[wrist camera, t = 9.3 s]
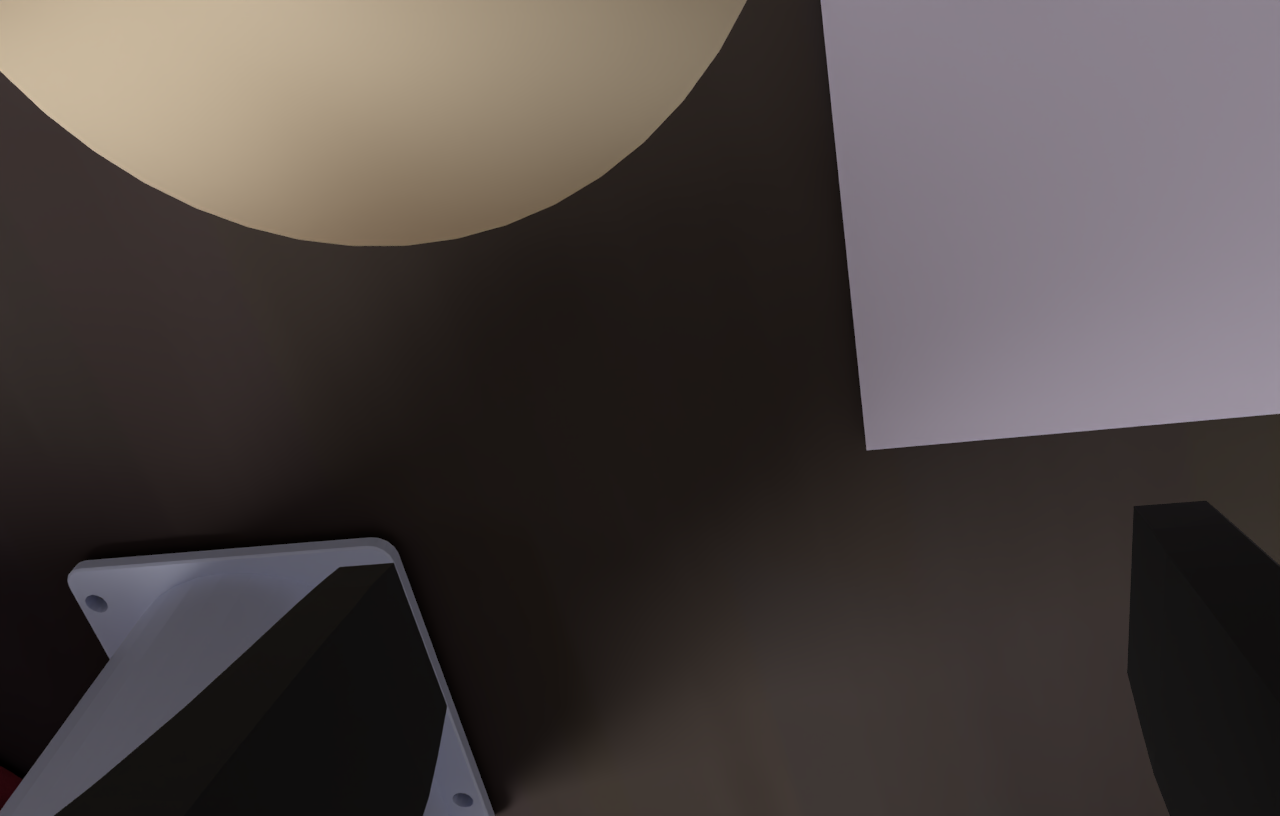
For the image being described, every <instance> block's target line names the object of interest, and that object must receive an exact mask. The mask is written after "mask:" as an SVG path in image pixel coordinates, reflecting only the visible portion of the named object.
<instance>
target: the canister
mask: <svg viewBox="0 0 1280 816" xmlns="http://www.w3.org/2000/svg"><path fill="white" fill-rule="evenodd" d="M22 780H23V779H22V778H20V777H19V776H17V775H16V774H14V773H12V772H11V771H9V770H7V769H6V768H4V767H2V766H0V810H1V809H2V808H3V806H4V805H5V804H6V802H7V801H8V799H9V798H10V797H11V795H12V794H13V793H14V791H15V790H16V788H17V787H18V786H19V784H20V783H21V781H22Z"/></svg>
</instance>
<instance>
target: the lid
mask: <svg viewBox="0 0 1280 816" xmlns="http://www.w3.org/2000/svg"><path fill="white" fill-rule="evenodd" d="M746 1H747V0H0V71H1V72H2V73H3V74H4V75H5V76H6V77H7V78H8V79H9V80H10V81H11V82H12V83H14V84H15V85H16V86H17V87H18V88H19V89H20V90H21V91H22V92H23V93H24V94H25V95H26V96H27V97H28V98H29V99H31V100H32V101H33V102H34V103H35V104H36V105H37V106H38V107H39V108H40V109H41V110H42V111H43V112H44V113H45V114H47V115H48V116H49V117H51V118H52V119H53V120H54V121H56V122H57V123H58V124H60V125H61V126H62V127H63V128H65V129H66V130H67V131H69V132H70V133H71V134H73V135H74V136H75V137H76V138H78V139H79V140H80V141H82V142H83V143H84V144H85V145H87V146H88V147H89V148H91V149H92V150H93V151H95V152H96V153H98V154H99V155H101V156H103V157H104V158H106V159H107V160H109V161H110V162H112V163H114V164H115V165H117V166H118V167H120V168H122V169H123V170H125V171H126V172H128V173H130V174H131V175H133V176H134V177H136V178H138V179H139V180H141V181H142V182H144V183H146V184H148V185H150V186H152V187H154V188H156V189H158V190H160V191H162V192H164V193H166V194H168V195H170V196H172V197H174V198H176V199H178V200H180V201H182V202H184V203H186V204H188V205H191V206H193V207H195V208H197V209H200V210H202V211H205V212H208V213H211V214H213V215H216V216H219V217H222V218H224V219H227V220H230V221H233V222H235V223H238V224H241V225H243V226H246V227H250V228H254V229H258V230H262V231H266V232H270V233H274V234H279V235H283V236H287V237H291V238H295V239H299V240H306V241H315V242H323V243H331V244H340V245H348V246H407V245H415V244H422V243H429V242H437V241H444V240H452V239H458V238H461V237H465V236H469V235H472V234H476V233H480V232H483V231H487V230H491V229H494V228H498V227H502V226H505V225H508V224H510V223H513V222H515V221H517V220H520V219H522V218H524V217H527V216H529V215H532V214H534V213H536V212H539V211H541V210H543V209H546V208H548V207H550V206H553V205H555V204H557V203H558V202H560V201H562V200H563V199H565V198H567V197H568V196H570V195H572V194H573V193H575V192H577V191H578V190H580V189H582V188H583V187H585V186H587V185H588V184H590V183H592V182H593V181H595V180H597V179H598V178H600V177H601V176H603V175H604V174H605V173H606V172H608V171H609V170H610V169H611V168H613V167H614V166H615V165H616V164H618V163H619V162H620V161H621V160H623V159H624V158H625V157H626V156H628V155H629V154H630V153H631V152H633V151H634V150H635V149H636V148H638V147H639V146H640V145H641V144H643V143H644V142H645V141H646V140H647V139H648V138H649V137H650V135H651V134H652V133H653V132H654V131H655V130H656V129H657V128H658V127H659V126H660V125H661V124H662V123H663V122H664V121H665V120H666V119H667V118H668V116H669V115H670V114H671V113H672V112H673V111H674V110H675V109H676V108H677V107H678V106H679V105H680V104H681V103H682V102H683V101H684V99H685V98H686V97H687V95H688V94H689V93H690V91H691V90H692V88H693V87H694V86H695V84H696V83H697V81H698V80H699V79H700V77H701V76H702V75H703V73H704V72H705V70H706V69H707V68H708V66H709V65H710V63H711V62H712V61H713V59H714V58H715V57H716V55H717V54H718V52H719V51H720V49H721V47H722V46H723V44H724V42H725V40H726V38H727V36H728V35H729V33H730V31H731V29H732V27H733V25H734V23H735V22H736V20H737V18H738V16H739V14H740V12H741V11H742V9H743V7H744V5H745V3H746Z"/></svg>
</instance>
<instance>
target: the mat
mask: <svg viewBox="0 0 1280 816" xmlns="http://www.w3.org/2000/svg"><path fill="white" fill-rule="evenodd" d="M821 10H822V19H823V29H824V39H825V49H826V58H827V68H828V78H829V88H830V97H831V107H832V117H833V127H834V137H835V146H836V156H837V166H838V176H839V185H840V195H841V205H842V215H843V224H844V234H845V244H846V254H847V264H848V273H849V283H850V293H851V303H852V312H853V322H854V332H855V342H856V351H857V361H858V371H859V381H860V391H861V400H862V410H863V420H864V430H865V439H866V449H867V450H877V449H888V448H900V447H911V446H922V445H933V444H944V443H956V442H967V441H978V440H989V439H1000V438H1012V437H1023V436H1034V435H1045V434H1056V433H1068V432H1079V431H1090V430H1101V429H1113V428H1124V427H1135V426H1146V425H1157V424H1169V423H1180V422H1191V421H1202V420H1213V419H1225V418H1236V417H1247V416H1258V415H1269V414H1280V0H821Z"/></svg>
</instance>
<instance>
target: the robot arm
mask: <svg viewBox="0 0 1280 816" xmlns="http://www.w3.org/2000/svg"><path fill="white" fill-rule="evenodd" d="M67 582H68V585H69V588H70V589H71V591H72V593H73V595H74V596H75V598H76V600H77V602H78V604H79V605H80V607H81V609H82V611H83V612H84V614H85V616H86V618H87V620H88V621H89V623H90V625H91V627H92V628H93V630H94V632H95V634H96V636H97V637H98V639H99V641H100V643H101V645H102V646H103V648H104V650H105V652H106V653H107V655H108V657H109V659H110V660H109V661H108V663H107V664H106V665H105V667H104V668H103V670H102V671H101V672H100V674H99V675H98V677H97V678H96V679H95V681H94V682H93V683H92V685H91V686H90V688H89V689H88V690H87V692H86V693H85V694H84V696H83V697H82V699H81V700H80V701H79V703H78V704H77V706H76V707H75V708H74V710H73V711H72V712H71V714H70V715H69V717H68V718H67V719H66V721H65V722H64V723H63V725H62V726H61V728H60V729H59V730H58V732H57V733H56V735H55V736H54V737H53V739H52V740H51V741H50V743H49V744H48V746H47V747H46V748H45V750H44V751H43V752H42V754H41V755H40V757H39V758H38V759H37V761H36V762H35V764H34V765H33V766H32V768H31V769H30V770H29V772H28V773H27V775H26V776H25V777H24V779H23V780H22V781H21V783H20V784H19V786H18V787H17V788H16V790H15V791H14V793H13V794H12V795H11V797H10V798H9V799H8V801H7V802H6V804H5V805H4V806H3V808H2V809H1V810H0V816H495V814H494V811H493V809H492V806H491V803H490V800H489V798H488V795H487V792H486V790H485V787H484V784H483V781H482V779H481V776H480V773H479V771H478V768H477V765H476V762H475V760H474V757H473V754H472V752H471V749H470V746H469V743H468V741H467V738H466V735H465V732H464V730H463V727H462V724H461V722H460V719H459V716H458V713H457V711H456V708H455V705H454V703H453V700H452V697H451V694H450V692H449V689H448V686H447V684H446V681H445V678H444V675H443V673H442V670H441V667H440V665H439V662H438V659H437V656H436V654H435V651H434V648H433V646H432V643H431V640H430V637H429V635H428V632H427V629H426V627H425V624H424V621H423V618H422V616H421V613H420V610H419V608H418V605H417V602H416V599H415V597H414V594H413V591H412V589H411V586H410V583H409V580H408V578H407V575H406V572H405V570H404V567H403V564H402V561H401V559H400V556H399V553H398V552H397V550H396V549H395V547H394V546H393V545H392V544H390V543H389V542H388V541H386V540H383V539H381V538H374V537H367V538H355V539H342V540H330V541H318V542H305V543H293V544H281V545H268V546H256V547H244V548H232V549H219V550H207V551H195V552H182V553H170V554H158V555H146V556H133V557H121V558H109V559H96V560H86V561H82V562H79V563H78V564H77V565H76V566H75V567H74V569H73V570H72V571H71V572H70V573H69V574H68V579H67ZM98 596H99V597H101V598H103V599H104V600H103V599H101V598H99V597H98ZM1127 673H1128V677H1129V681H1130V685H1131V689H1132V693H1133V697H1134V701H1135V705H1136V709H1137V712H1138V716H1139V720H1140V724H1141V728H1142V732H1143V736H1144V739H1145V743H1146V747H1147V750H1148V754H1149V758H1150V762H1151V765H1152V769H1153V773H1154V775H1155V778H1156V781H1157V783H1158V786H1159V788H1160V791H1161V794H1162V796H1163V799H1164V801H1165V804H1166V807H1167V809H1168V812H1169V814H1170V816H1280V565H1279V564H1278V563H1276V562H1275V561H1274V560H1273V559H1272V558H1271V557H1270V556H1269V555H1267V554H1266V553H1265V552H1264V551H1263V550H1262V549H1261V548H1260V547H1258V546H1257V545H1256V544H1255V543H1254V542H1253V541H1252V540H1251V539H1249V538H1248V537H1247V536H1246V535H1245V534H1244V533H1243V532H1242V531H1241V530H1239V529H1238V528H1237V527H1236V526H1235V525H1234V524H1233V523H1232V522H1230V521H1229V520H1228V519H1227V518H1226V517H1225V516H1224V515H1222V514H1221V513H1220V512H1219V511H1218V510H1217V509H1215V508H1214V507H1213V506H1212V505H1211V504H1209V503H1208V502H1207V501H1198V502H1184V503H1171V504H1158V505H1145V506H1134V517H1133V542H1132V568H1131V593H1130V619H1129V644H1128V670H1127ZM463 793H464V794H463Z"/></svg>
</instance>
